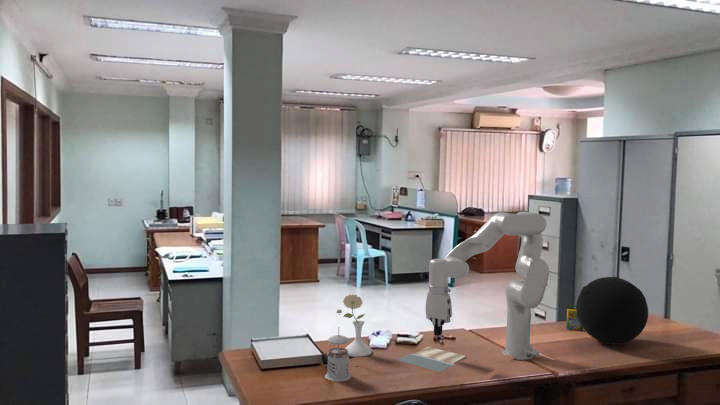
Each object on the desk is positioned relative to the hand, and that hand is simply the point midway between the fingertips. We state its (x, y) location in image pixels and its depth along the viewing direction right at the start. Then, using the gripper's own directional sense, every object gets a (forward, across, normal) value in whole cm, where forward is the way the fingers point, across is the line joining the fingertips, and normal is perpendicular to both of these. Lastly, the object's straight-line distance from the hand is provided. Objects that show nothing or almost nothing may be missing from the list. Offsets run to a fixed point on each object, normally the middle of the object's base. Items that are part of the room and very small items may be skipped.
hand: (438, 335), depth 231 cm
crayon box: (+12, -26, -85) cm, 89 cm away
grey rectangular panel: (+10, 0, +9) cm, 13 cm away
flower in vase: (+10, +28, +17) cm, 35 cm away
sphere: (+12, -46, -73) cm, 87 cm away
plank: (+10, 0, -2) cm, 10 cm away
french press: (+10, +18, +40) cm, 45 cm away
